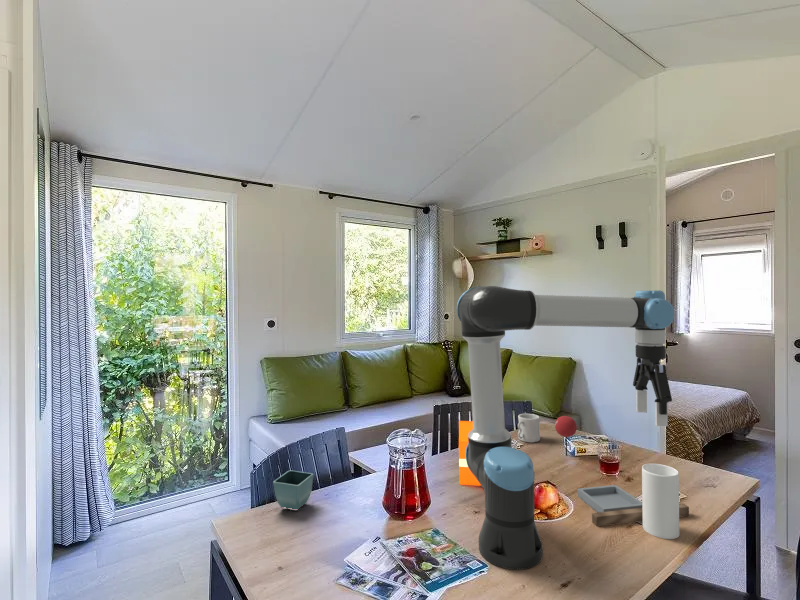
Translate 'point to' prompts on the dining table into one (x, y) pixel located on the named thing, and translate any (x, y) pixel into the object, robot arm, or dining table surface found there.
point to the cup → (660, 500)
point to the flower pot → (293, 489)
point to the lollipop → (565, 427)
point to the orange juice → (464, 471)
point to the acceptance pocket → (608, 498)
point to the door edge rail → (627, 516)
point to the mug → (528, 428)
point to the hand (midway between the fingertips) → (651, 418)
